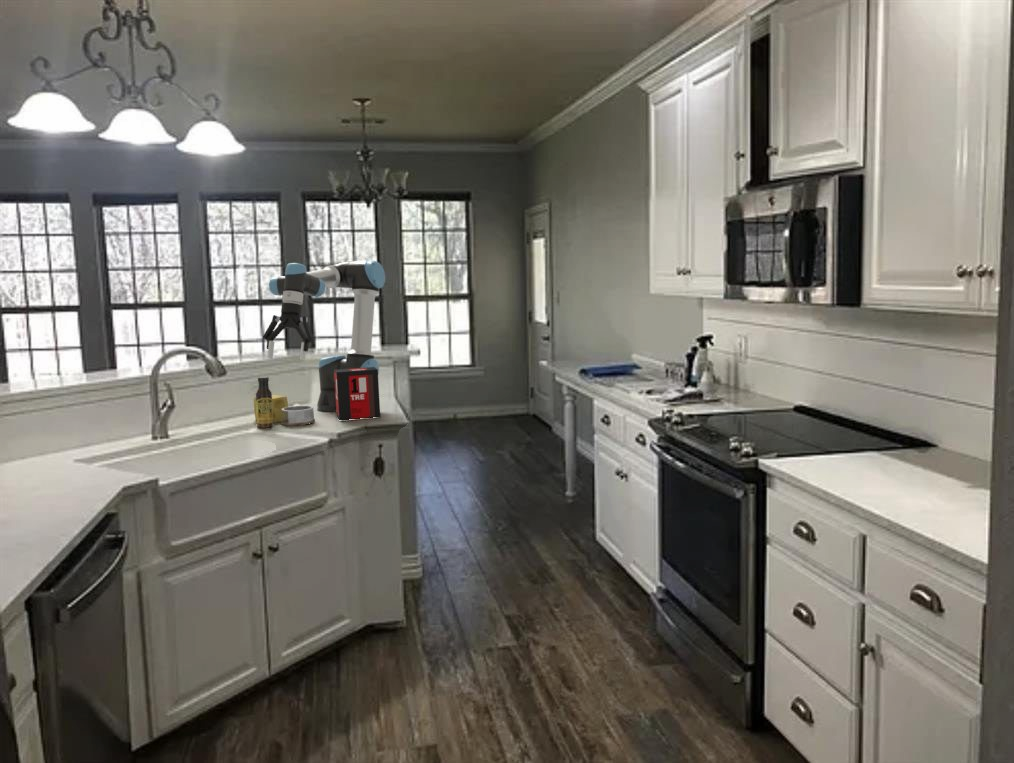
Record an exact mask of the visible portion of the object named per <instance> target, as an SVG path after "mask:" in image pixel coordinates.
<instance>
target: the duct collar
mask: <svg viewBox="0 0 1014 763" xmlns="http://www.w3.org/2000/svg"><path fill="white" fill-rule="evenodd" d="M314 412H315V411H314V406H312V405H294V406H293V405H292V406H288V407H286V408H283V409H282V421H281V423H282V422H283V423H305V422H310V421H313V420H314V419H315V414H314Z"/></svg>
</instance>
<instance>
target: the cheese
mask: <svg viewBox="0 0 1014 763" xmlns="http://www.w3.org/2000/svg"><path fill="white" fill-rule="evenodd" d="M286 407H289V403H288V397H287V396H286V395H277V394H272V408H273V423H276V421H278V422H282V409H283V408H286ZM253 408H254V418H255V421H256V420H257V419H256V396H255V397H253Z"/></svg>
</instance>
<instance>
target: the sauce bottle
mask: <svg viewBox="0 0 1014 763" xmlns="http://www.w3.org/2000/svg"><path fill="white" fill-rule="evenodd" d="M257 382H258V389H257V391H256V392H255V397H256V419H257V421H256V427H258V428H262V429H264V428H265V429H266V428H271V427H273V423H274V422H273V408H272V395H273V393H272V391H271V390H270V387H269V376H258V377H257Z"/></svg>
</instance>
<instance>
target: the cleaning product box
mask: <svg viewBox="0 0 1014 763" xmlns="http://www.w3.org/2000/svg"><path fill="white" fill-rule="evenodd" d="M334 380H335V396H336V411H335V413H336V419H337V418H338V419H339V420H349V419H360V418H373V417H380V418H381V406H380V404H381V403H380V402H381V400H380V386H379V385H380V384H379V373H378V369H376V368H375V367H367V368H353V369H339V370H334ZM338 419H337V420H338ZM339 420H338V421H339Z"/></svg>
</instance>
